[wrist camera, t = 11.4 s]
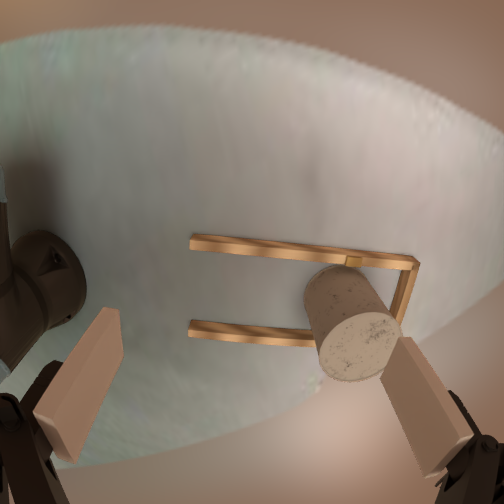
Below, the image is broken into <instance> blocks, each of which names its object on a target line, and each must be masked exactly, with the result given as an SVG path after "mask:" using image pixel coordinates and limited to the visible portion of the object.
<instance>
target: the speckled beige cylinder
mask: <svg viewBox="0 0 504 504" xmlns="http://www.w3.org/2000/svg"><path fill="white" fill-rule="evenodd" d="M304 305H305V309H306V311H307V314H308V318H309V322H310V325H311V329H312V333H313V336H314V340H315V344H316V348H317V351H318V355H319V362H320V365H321V367H322V369H323V371H324V372H325V373H326V374H327V375H328V376H329V377H331V378H333V379H335V380H338V381H341V382H359V381H363V380H366V379H369V378H371V377H373V376H376V375H378V374H379V373H381V372H382V371H384V369H385V367H386V365H387V362H388V360H389V358H390V356H391V353H392V351H393V349H394V347H395V344H396V342H397V340H398V337H403V334H402V330H401V327H400V325H399V323H398V322H397V320H395V319H394V318H393V316H392V315H391V313H390V312H389V310H388V309H387V307H386V306H385V305H384V303H383V302H382V300H381V299H380V297H379V296H378V295H377V293H376V292H375V290H374V289H373V288H372V286H371V285H370V283H369V282H368V280H367V278H366V277H365V275H364V274H363V273H362V272H361V271H360V270H358V269H356V268H354V267H349V266H345V265H335V266H330V267H328V268H325V269H323V270H321V271H320V272H319V273H317V274H316V275H315V276H314V277H313V278H312V279H311V280H310V282H309V284H308V285H307V287H306V290H305V293H304Z"/></svg>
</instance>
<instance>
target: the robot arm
mask: <svg viewBox="0 0 504 504" xmlns="http://www.w3.org/2000/svg"><path fill="white" fill-rule="evenodd" d="M7 201H8V200H7V197H6V193H5V182H4V170H3V167H2V165H1V164H0V384H1V382H2V381H3V380H4V379H5V378H6V377H9V376H10V374H11V373H12V371H13V370H14V369H15V367H16V366H17V365H18V364H19V362H20V361H21V360H22V359H23V357H24V356H25V355H26V354H27V352H28V351H29V350H30V349H31V348H32V346H33V345H34V344H35V343H36V342H37V340H38V339H39V338H40V337H41V336H42V334H43V333H44V332H45V331H47V330H49V329H52V328H54V327H57V326H59V325H61V324H64V323H66V322H68V321H70V320H71V319H72V318H73V317H74V316H75V315H76V314H77V313H78V312H79V310H80V309H81V308H82V306H83V304H84V301H85V297H86V281H85V276H84V273H83V270H82V267H81V265H80V263H79V261H78V259H77V257H76V255H75V254H74V253H73V251H72V250H71V249H70V247H69V246H68V245H67V244H66V243H65V242H64V241H63V240H61V239H60V238H59V237H57V236H56V235H54V234H52V233H49V232H46V231H40V230H38V231H32V232H30V233H28V234H26V235H24V236H22V237H21V238H19V239H18V240H17V241H16V242H15V243H14V244H13V246H12V248H11V249H10V243H9V234H8V222H7V206H6V203H7ZM123 357H124V354H123V345H122V337H121V327H120V317H119V310H118V309H113V308H107V307H103V308H102V310H101V311H100V313H99V314H98V315H97V317H96V318H95V319H94V321H93V322H92V323H91V325H90V326H89V328H88V329H87V330H86V332H85V333H84V335H83V336H82V337H81V339H80V340H79V342H78V343H77V344H76V346H75V347H74V349H73V350H72V352H71V353H70V355H69V356H68V358H67V359H66V360H65V362H64V363H63V362H59V361H56V360H53V361H52V362H50V363H49V364H47V365H46V366H44V368H43V369H42V371H41V372H40V373H39V375H38V377H37V378H36V379H35V381H34V383H33V384H32V385H31V386H30V388H29V389H28V391H27V392H26V394H25V395H24V397H23V398H22V400H21V401H20V403H19V401H18V399H17V398H16V397H15V396H14V395H12V394H9V393H0V504H9V492H8V483H9V486H10V490H11V493H12V496H13V499H14V502H15V504H70V503H69V501H68V499H67V497H66V495H65V492H64V490H63V488H62V485H61V483H60V481H59V478H58V476H57V473H56V471H55V468H54V466H53V463H52V460H51V459H50V455H51V453H52V451H54V452H55V454H56V456H57V457H58V458H60V459H62V460H65V461H67V462H70V463H73V464H76V462H77V460H78V457H79V455H80V452H81V450H82V447H83V445H84V443H85V440H86V438H87V436H88V433H89V431H90V429H91V426H92V424H93V422H94V420H95V417H96V415H97V413H98V411H99V408H100V406H101V404H102V402H103V400H104V397H105V395H106V393H107V391H108V389H109V387H110V385H111V382H112V380H113V378H114V376H115V374H116V372H117V370H118V368H119V366H120V364H121V362H122V359H123ZM380 380H381V382H382V384H383V386H384V388H385V390H386V393H387V394H388V397H389V399H390V401H391V403H392V405H393V408H394V409H395V412H396V414H397V416H398V419H399V421H400V423H401V425H402V427H403V430H404V432H405V434H406V437H407V439H408V441H409V444H410V446H411V448H412V451H413V453H414V455H415V458H416V460H417V462H418V465H419V467H420V470H421V472H422V475H423V477H424V478H428V477H432V476H435V475H438V474H439V473H440V472H441V471H442V470H443V469H444V468H445V467H446V468H447V470H448V472H447V474H445V475H444V476H443V477H442V478H441V479H440V480H439V481H438V482H437V483H436V485H435V487H437V486H438V485H439V484H440V483H441V482H442V485H441V487H440V490H439V493H438V496H437V499H436V501H435V504H504V443H498V441H497V440H496V439H495V438H494V437H492V436H490V435H482V434H481V432H480V431H479V429H478V427H477V426H476V424H475V422H474V421H473V419H472V418H471V416H470V414H469V413H467V410H466V408H465V407H463V403H462V402H461V400H460V399H459V397H458V396H457V395H455V394H454V393H453V392H452V391H451V390H449V391H447V389H446V388H445V386H444V385H443V383H442V382H441V380H440V379H439V377H438V376H437V374H436V373H435V371H434V370H433V368H432V367H431V365H430V364H429V363H428V361H427V359H426V358H425V356H424V355H423V354H422V352H421V351H420V349H419V348H418V346H417V345H416V343H415V342H414V341H413V339H412V338H411V337H398V340H397V342H396V344H395V347H394V349H393V351H392V353H391V356H390V358H389V360H388V362H387V365H386V367H385V369H384V372H383V373H382V375H381V377H380Z"/></svg>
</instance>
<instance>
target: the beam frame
mask: <svg viewBox="0 0 504 504" xmlns="http://www.w3.org/2000/svg"><path fill="white" fill-rule="evenodd" d="M190 249H191V250H201V251H211V252H221V253H232V254H242V255H252V256H263V257H273V258H283V259H294V260H304V261H315V262H325V263H336V264H345V266H349V267H360V268H361V266H368V267H379V268H389V269H400V270H402V271H401V275H400V278H399V282H398V285H397V289H396V292H395V295H394V298H393V302H392V305H391V308H390V311H389V312H390V313H391V315H392V316H393V318H394V319H395V320H397V322H398V323H399V325H401V323H402V320H403V317H404V314H405V311H406V308H407V305H408V302H409V299H410V296H411V293H412V290H413V287H414V283H415V280H416V277H417V273H418V270H419V266H420V262H419V261H418V260H416V259H415V258H414V257H413V256H406V255H397V254H388V253H379V252H370V251H361V250H352V249H342V248H333V247H324V246H314V245H304V244H295V243H285V242H275V241H265V240H255V239H244V238H234V237H223V236H213V235H202V234H193V236H192V237H191V239H190ZM188 337H196V338H204V339H213V340H222V341H232V342H243V343H255V344H268V345H282V346H300V347H316V344H315V340H314V336H313V333H312V330H298V329H283V328H269V327H257V326H245V325H235V324H225V323H215V322H206V321H197V320H191V323H190V326H189V329H188Z"/></svg>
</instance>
